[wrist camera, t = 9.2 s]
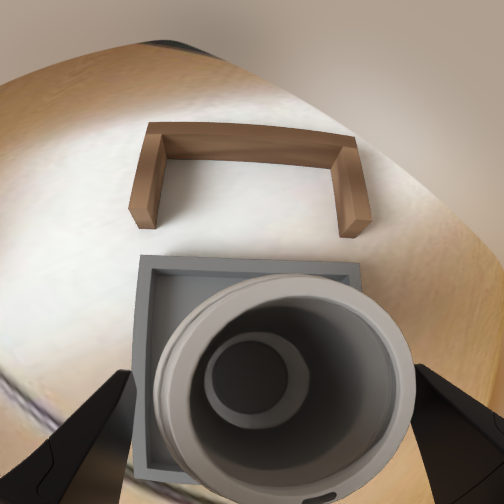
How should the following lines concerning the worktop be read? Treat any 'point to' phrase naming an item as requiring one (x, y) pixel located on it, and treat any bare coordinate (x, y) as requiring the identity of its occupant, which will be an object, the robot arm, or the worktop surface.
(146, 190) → the cubby
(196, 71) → the worktop surface
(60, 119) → the worktop surface
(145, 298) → the tray
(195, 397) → the cup
